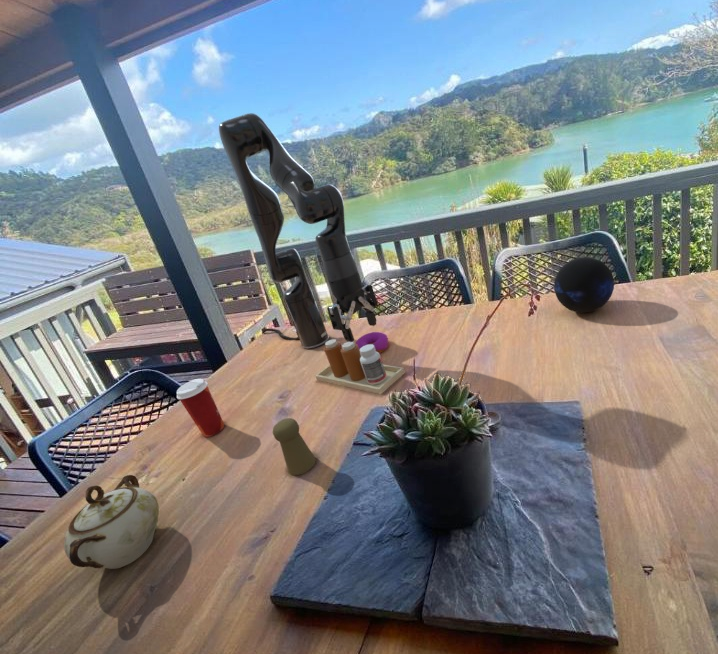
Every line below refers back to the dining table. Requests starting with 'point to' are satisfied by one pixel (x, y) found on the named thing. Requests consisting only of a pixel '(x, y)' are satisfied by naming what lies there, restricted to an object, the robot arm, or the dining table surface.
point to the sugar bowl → (112, 526)
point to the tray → (391, 374)
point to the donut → (374, 341)
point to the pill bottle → (372, 365)
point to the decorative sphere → (584, 285)
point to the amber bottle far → (335, 358)
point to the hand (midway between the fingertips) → (362, 332)
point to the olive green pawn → (293, 447)
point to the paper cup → (201, 406)
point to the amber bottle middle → (352, 361)
